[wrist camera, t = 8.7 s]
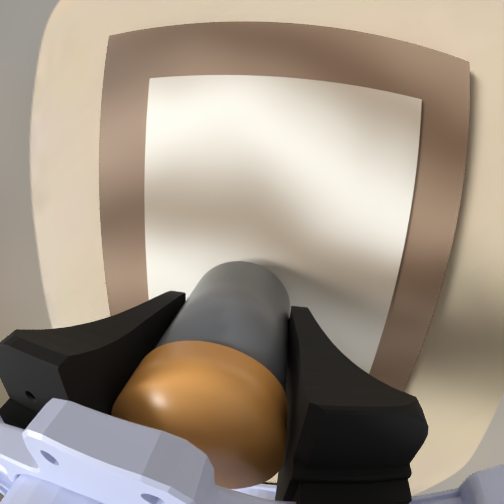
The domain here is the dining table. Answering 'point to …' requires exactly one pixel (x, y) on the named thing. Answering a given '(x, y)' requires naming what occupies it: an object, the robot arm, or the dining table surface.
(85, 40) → the dining table surface
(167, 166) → the board
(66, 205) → the dining table surface
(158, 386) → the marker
